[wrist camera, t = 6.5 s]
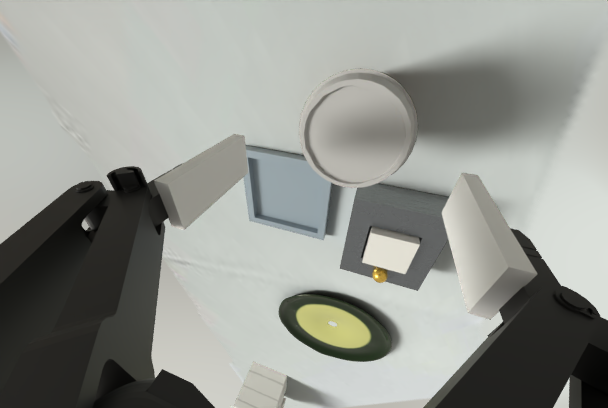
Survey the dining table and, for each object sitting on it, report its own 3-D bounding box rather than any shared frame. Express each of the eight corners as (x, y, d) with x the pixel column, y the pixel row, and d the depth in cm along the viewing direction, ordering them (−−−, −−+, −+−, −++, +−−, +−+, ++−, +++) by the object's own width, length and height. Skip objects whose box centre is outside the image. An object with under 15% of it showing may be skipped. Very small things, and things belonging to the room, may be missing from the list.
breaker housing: (359, 179, 33) (352, 206, 28) (451, 197, 30) (462, 230, 25) (344, 248, 42) (337, 278, 36) (414, 266, 39) (417, 302, 34)
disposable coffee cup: (430, 104, 25) (449, 143, 16) (363, 158, 31) (348, 209, 22) (371, 34, 23) (355, 33, 14) (312, 106, 29) (273, 138, 20)
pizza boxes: (255, 382, 112) (235, 430, 98) (248, 357, 94) (222, 413, 80) (291, 398, 108) (276, 451, 94) (292, 375, 90) (273, 437, 76)
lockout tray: (244, 145, 36) (239, 148, 35) (335, 161, 32) (333, 165, 31) (253, 215, 44) (249, 220, 43) (325, 234, 41) (323, 240, 40)
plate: (378, 364, 63) (377, 374, 61) (283, 330, 70) (280, 338, 68) (406, 310, 47) (407, 322, 45) (279, 273, 53) (275, 282, 51)
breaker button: (374, 208, 34) (371, 232, 30) (416, 218, 33) (419, 244, 29) (366, 237, 38) (362, 262, 34) (404, 246, 36) (405, 274, 32)
